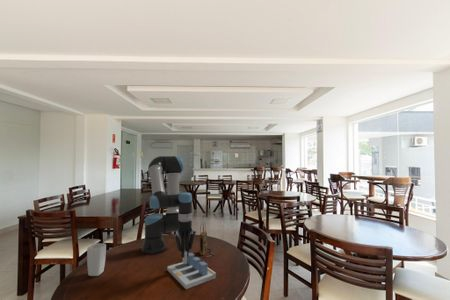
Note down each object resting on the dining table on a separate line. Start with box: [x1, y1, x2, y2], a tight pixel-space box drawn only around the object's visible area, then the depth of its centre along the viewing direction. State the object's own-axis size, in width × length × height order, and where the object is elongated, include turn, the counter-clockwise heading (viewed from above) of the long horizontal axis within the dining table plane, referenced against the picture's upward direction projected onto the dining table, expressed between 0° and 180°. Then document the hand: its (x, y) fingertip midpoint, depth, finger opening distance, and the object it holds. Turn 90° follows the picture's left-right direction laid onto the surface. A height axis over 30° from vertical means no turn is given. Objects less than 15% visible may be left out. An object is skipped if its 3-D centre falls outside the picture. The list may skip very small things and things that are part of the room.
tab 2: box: [192, 256, 202, 270], centre depth 122 cm, size 4×3×5 cm
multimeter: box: [199, 222, 215, 259], centre depth 147 cm, size 15×10×20 cm
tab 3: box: [199, 260, 209, 276], centre depth 117 cm, size 4×3×5 cm
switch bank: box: [166, 262, 217, 290], centre depth 120 cm, size 23×17×3 cm
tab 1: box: [187, 252, 196, 265], centre depth 128 cm, size 4×3×5 cm
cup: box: [86, 243, 107, 277], centre depth 120 cm, size 7×7×15 cm
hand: (184, 262), depth 126 cm, fingers closed
